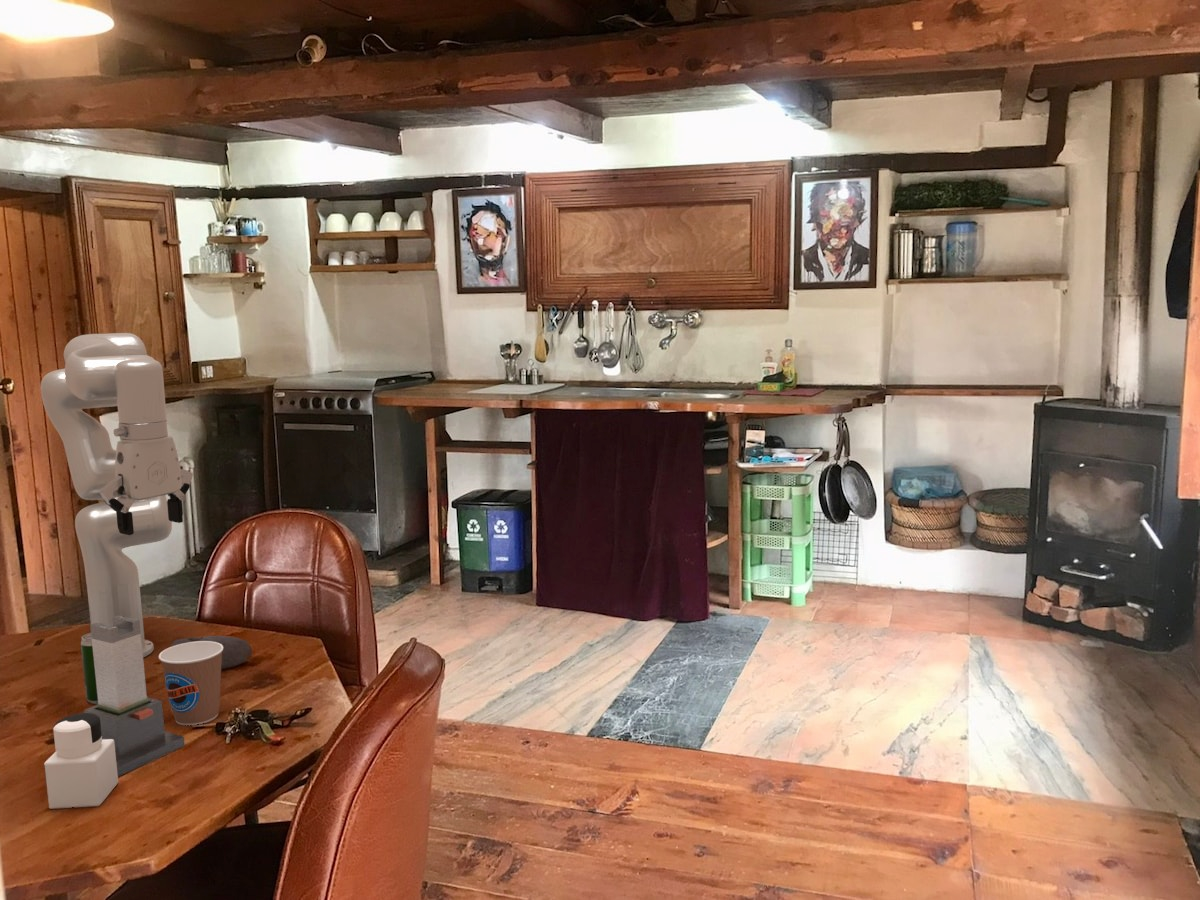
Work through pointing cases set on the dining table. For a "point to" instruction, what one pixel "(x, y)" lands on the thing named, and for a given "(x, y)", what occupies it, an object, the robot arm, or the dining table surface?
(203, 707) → the coffee cup
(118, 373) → the robot arm
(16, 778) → the dining table surface
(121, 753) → the base
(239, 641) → the perforated stone tool
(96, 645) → the jack column
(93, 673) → the beer can
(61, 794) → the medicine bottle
